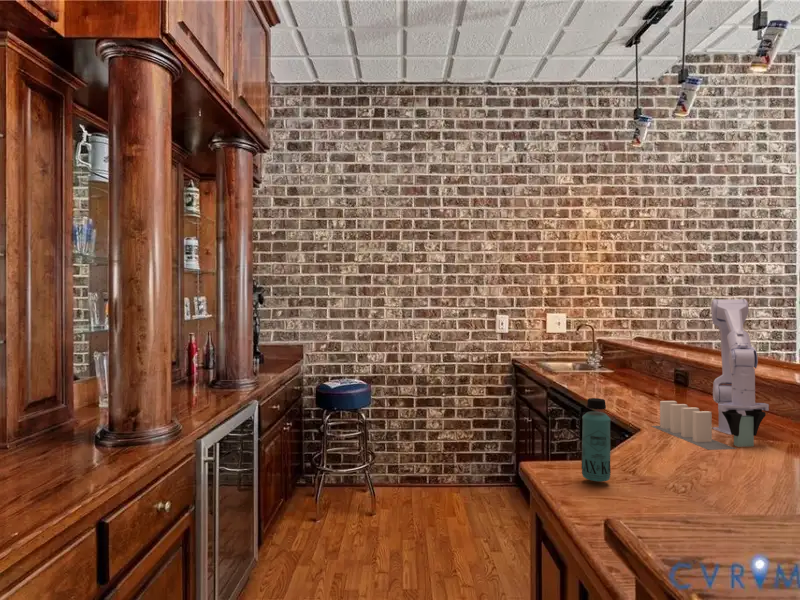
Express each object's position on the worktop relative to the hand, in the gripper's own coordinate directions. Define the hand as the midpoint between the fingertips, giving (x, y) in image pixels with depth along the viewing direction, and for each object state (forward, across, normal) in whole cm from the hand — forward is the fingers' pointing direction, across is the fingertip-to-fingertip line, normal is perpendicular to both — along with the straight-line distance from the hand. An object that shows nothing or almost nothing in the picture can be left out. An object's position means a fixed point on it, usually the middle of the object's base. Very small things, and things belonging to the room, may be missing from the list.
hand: (743, 435), depth 147 cm
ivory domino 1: (+3, -9, +22) cm, 24 cm away
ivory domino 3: (+3, -9, +11) cm, 15 cm away
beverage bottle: (+4, -58, -25) cm, 63 cm away
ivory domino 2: (+3, -9, +16) cm, 19 cm away
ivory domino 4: (+3, -9, +6) cm, 11 cm away
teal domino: (+3, 0, 0) cm, 3 cm away
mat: (+3, -9, +11) cm, 15 cm away
